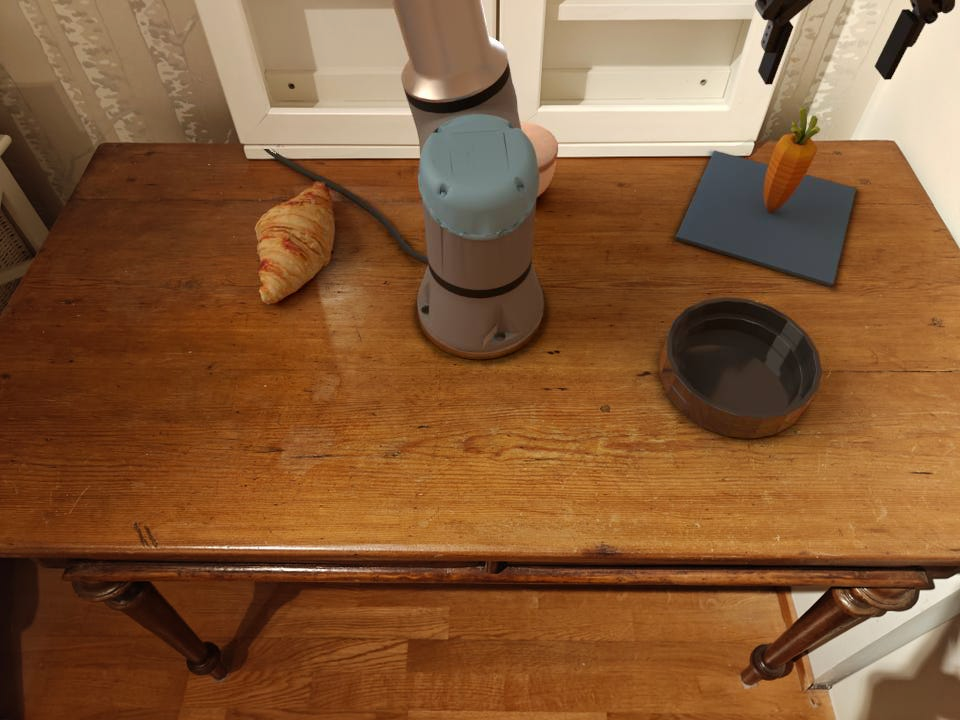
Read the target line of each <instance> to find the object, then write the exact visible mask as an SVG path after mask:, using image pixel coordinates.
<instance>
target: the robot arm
mask: <svg viewBox="0 0 960 720" xmlns="http://www.w3.org/2000/svg"><path fill="white" fill-rule="evenodd" d="M813 1H814V0H756V1H754V7H755V9H756V10H757V12H758V14H759V16H760V17H761V18H762V20H764V21H767V23H766V26H765V28H764V32H763V35H762V38H761V40H760V46H761V48H762V50H763V51H764V53H763V56H762V57H761V61H760V63H759V67H758V70H757V73H758V74H759V76H760V77H761V79H762V81H763V83H764V84H765V85H767V86H768V85H769V86H770V85H773V83H774V80H775V78H776V76H777V73H778V70H779V68H780V65H781V62H782V59H783V56H784V53H785V51H786V48H787V45H788V43H789V40H790V38H791V35H792V31H793V30H794V25H793V24H792V23H791V20H792V19H794V17H796V16H797V15H798V14H800V13H801V12H802V11H803V10H805V8H806V7H807V6H809V5H810V4H811V3H812V2H813ZM391 3H392V4H391V5H392V7H393V11H394V13H395V16H396V20H397V23H398V27H399V30H400V33H401V36H402V40H403V44H404V46H405V49H406V52H407V56H408V61H407V62H406V63H405V64H404V66H403V69H402V72H401V76H400V80H401V84H402V88H403V91H404V94H405V97H406V100H407V103H408V107H409V110H410V113H411V116H412V120H413V122H414V125H415V128H416V133H417V138H418V145H419V146H418V147H419V166H418V171H417V183H418V191H419V194H420V197H421V201H422V202H421V204H422V213H423V224H424V234H425V235H424V236H425V245H426V254H427V256H426V255H424V254H421V253H419V252H417V251H416V250H414V248H412V247H411V246H410V245H408V243H407V242H406V241H405V240H404V239H403V237H402V236H401V235H400V233H398V231H397V230H396V229H395V227H394V226H393V225H392V223H390V222H389V220H387V218H386V217H385V216H384V215H382V213H380V211H378V210H376V209H375V207H373V206H372V205H370V203H368V202H366V201H365V200H364V199H362V198H361V197H360V196H357V195H356V194H354V193H353V192H352V191H349V190H347V189H346V188H344V187H343V186H341V185H339V184H337V183H335V182H333V181H331V180H330V179H327V178H325V177H323V176H321V175H319V174H316V173H315V172H312V171H310V170H308V169H307V168H304V167H303V166H301V165H299V164H298V163H296V162H294V161H292V160H290V159H288V158H287V157H285V156H283V155H281V154H280V153H279V152H277V151H275V150H274V149H272V150H273V151H274V152H276V154H275V153H273V152H271V151H270V150H269V149H263V151H265V152H266V153H267V154H268V155H270V156H271V157H272V158H274V159H275V160H276V161H279V162H280V163H282V164H283V165H286V166H287V167H289V168H291V169H292V170H294V171H296V172H298V173H299V174H301V175H303V176H305V177H307V178H308V179H309V178H310V179H311V180H314V181H315V182H317V181H318V182H325V183H326V184H327V186H328V188H331V189H332V190H334V191H336V192H338V193H339V194H341V195H342V196H344V197H346V198H348V199H349V200H351V201H352V202H354V203H355V204H357V205H358V206H360V207H361V208H362V209H364V210H365V211H367V212H368V214H370V215H371V216H373V217H374V218H375V219H376V220H377V221H378V222H380V223H381V225H382V226H383V227H384V228H385V229H386V230H387V232H388V233H389V234H390V235H391V237H392V238H393V239H394V240H395V242H396V243H397V244H398V245H399V246H400V248H401V249H402V250H403V251H404V252H405V254H408V256H410V257H411V258H412V259H415V260H416V261H419V262H421V263H424V264H426V265H427V266H426V269H425V272H424V275H423V278H422V280H421V283H420V286H419V289H418V293H417V298H416V310H417V318H418V322H419V325H420V327H421V330H422V332H423V333H424V335H425V336H426V337H427V339H428V340H429V341H430V342H431V343H432V344H434V345H435V346H436V347H437V348H438V349H440V350H442V351H444V352H445V353H448V354H451V355H452V356H457V357H459V358H463V359H468V360H469V359H470V360H490V359H491V360H492V359H496V358H501V357H504V356H507V355H510V354H513V353H514V352H517V351H518V350H520V349H521V348H523V347H524V346H526V345H527V344H528V343H529V342H530V341H531V340H532V339H533V338H534V337H535V336H536V334H537V333H538V331H539V330H540V327H541V324H542V322H543V317H544V309H545V300H544V293H543V289H542V286H541V284H540V282H539V279H538V276H537V274H536V271H535V268H534V265H533V262H532V261H533V250H534V249H533V248H534V236H535V222H536V209H537V208H536V207H537V199H538V197H539V196H538V191H539V169H538V162H537V156H536V152H535V149H534V147H533V145H532V143H531V141H530V140H529V138H528V137H527V135H526V134H525V133H524V132H523V131H522V130H521V125H520V121H521V120H520V115H519V109H518V108H519V106H518V96H517V91H516V88H515V85H514V83H513V77H512V72H511V71H512V70H511V67H510V66H511V65H510V62H509V56H508V52H507V50H506V48H505V46H504V45H503V44H502V43H501V42H500V40H499V41H498V40H497V39H495V38H494V37H492V36H490V35H489V29H488V25H487V20H486V13H485V10H484V5H483V0H391ZM909 3H910V5H911V8H912V10H911V9H910V8H906V9H905V8H904V9H903V8H902V9H901V11H900V14H899V16H898V18H897V20H896V21H895V23H894V26H893V28H892V30H891V32H890V33H889V36H888V38H887V40H886V42H885V44H884V46H883V48H882V50H881V51H880V54H879V56H878V58H877V61H876V62H875V64H874V68H875V69H876V71H877V72H878V73H879V75H880V76H881V77H882V79H883V80H885V81H886V80H887V81H888V80H892V79H893V77H894V74H895V72H896V70H897V69H898V67H899V65H900V63H901V61H902V59H903V57H904V55H905V53H906V52H907V49H908V48H913V46H914V45H915V44H916V43H917V41H918V39H919V38H920V36H921V34H922V32H923V30H924V28H925V26H926V25H932V24H933V23H935V22H936V21H937V20H938V18H939V14H940V13H943V14H945V15H946V14H949V13H951V12H952V11H953V10H954V9H955V6H956V0H909ZM537 196H538V197H537Z"/></svg>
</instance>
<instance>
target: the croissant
mask: <svg viewBox="0 0 960 720" xmlns="http://www.w3.org/2000/svg"><path fill="white" fill-rule="evenodd" d="M333 205H334V198H333V196H332V194H331V193H330V189H329V187H328V186H327V184H326V183H325V182H318V181H315V182H313V184H312V185H311V187H309V188H306V189H304V190H303V191H301V192H300V193H299V194H298V195H297V196H294V197H292V198H291V199H289V200H287V201H281V202H280V203H279V204H277V205H275V206H273V207H272V208H270V209H269V210H267V212H266V213H265V212H264V214H262V216H261V217H260V219H259V220H258V221H257V222H256V224H255V227H254V231H255V234H256V238H257V241H258V243H257V246H256V254H257V256H259V260H260V265H259V269H258V276H259V278H260V281H259V282H260V283H261V284H262V285H261V286H260V287H259V290H258V292H259V293H260V297H261V300H262V302H263V303H265V304H266V305H271V304H276V303H278V302H279V301H281V300H284V298H286V297H287V296H288V297H289V295H291V294H294V293H295V292H297V291H299V289H301V288H302V287H303V286H304V285H305V284H306V283H308V282H309V281H310V280H311V279H314V277H315V275H316V274H317V273H318V272H319V271H320V270H321V269H322V268H323V266H327V265H328V264H329V263H330V262H331V258H332V252H333V246H334V245H333V244H334V241H335V233H336V224H335V214H334V210H333V207H334V206H333Z"/></svg>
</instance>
